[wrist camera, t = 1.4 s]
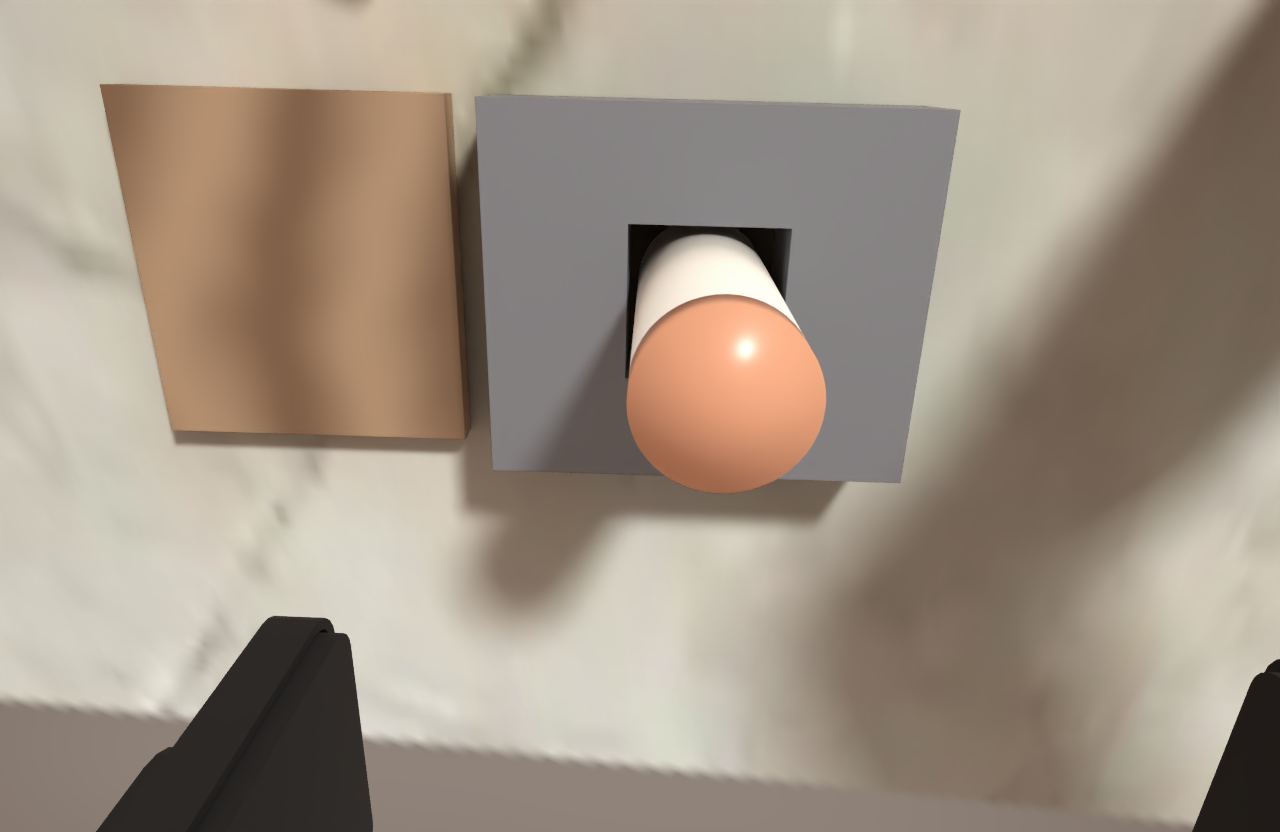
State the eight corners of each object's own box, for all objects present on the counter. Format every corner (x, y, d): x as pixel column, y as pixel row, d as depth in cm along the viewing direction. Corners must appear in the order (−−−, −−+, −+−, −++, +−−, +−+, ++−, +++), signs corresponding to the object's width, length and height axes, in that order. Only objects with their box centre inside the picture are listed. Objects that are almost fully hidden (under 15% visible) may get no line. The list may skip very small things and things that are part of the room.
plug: (767, 219, 28) (837, 310, 17) (757, 342, 30) (815, 496, 19) (640, 216, 28) (628, 304, 17) (636, 338, 30) (624, 490, 19)
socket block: (924, 106, 27) (960, 109, 24) (875, 441, 32) (900, 483, 28) (496, 94, 27) (475, 96, 24) (509, 429, 32) (492, 470, 28)
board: (451, 93, 27) (444, 93, 26) (470, 428, 32) (464, 439, 31) (118, 84, 27) (99, 84, 26) (185, 419, 32) (172, 430, 31)
